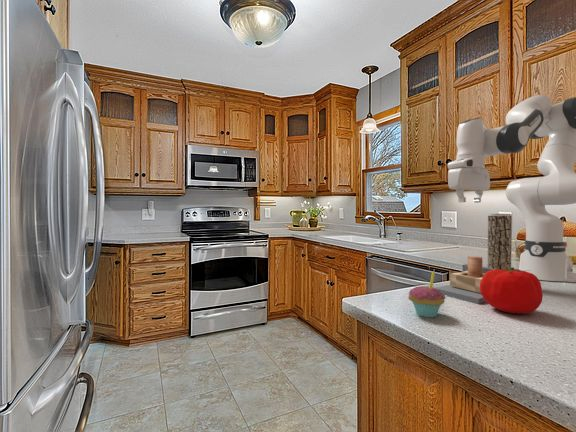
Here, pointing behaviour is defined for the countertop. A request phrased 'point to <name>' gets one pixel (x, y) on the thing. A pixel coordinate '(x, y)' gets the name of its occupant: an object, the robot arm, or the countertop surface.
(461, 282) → the square wooden frame
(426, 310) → the cupcake
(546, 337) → the countertop surface
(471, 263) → the dowel
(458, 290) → the slate track
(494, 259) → the wooden log
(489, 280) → the tomato
